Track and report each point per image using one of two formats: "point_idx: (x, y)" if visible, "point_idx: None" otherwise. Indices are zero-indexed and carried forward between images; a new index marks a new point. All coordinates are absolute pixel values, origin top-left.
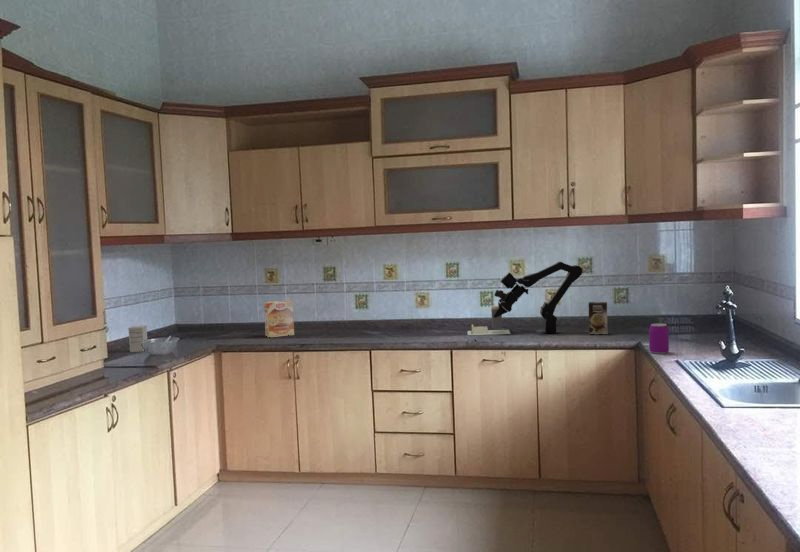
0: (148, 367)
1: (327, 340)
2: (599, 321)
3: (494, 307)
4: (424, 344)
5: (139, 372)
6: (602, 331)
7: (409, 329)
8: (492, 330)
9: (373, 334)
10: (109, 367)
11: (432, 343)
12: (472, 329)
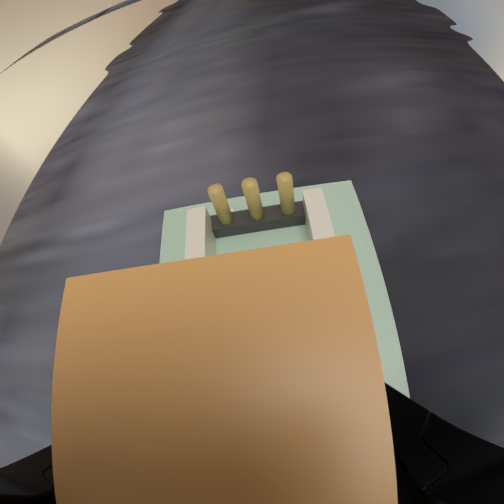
0: (92, 19)
1: (215, 3)
2: None
3: (58, 363)
4: (68, 129)
5: (74, 28)
6: None
7: (404, 37)
8: (390, 368)
9: (294, 11)
10: (108, 8)
11: (72, 141)
12: (187, 212)
